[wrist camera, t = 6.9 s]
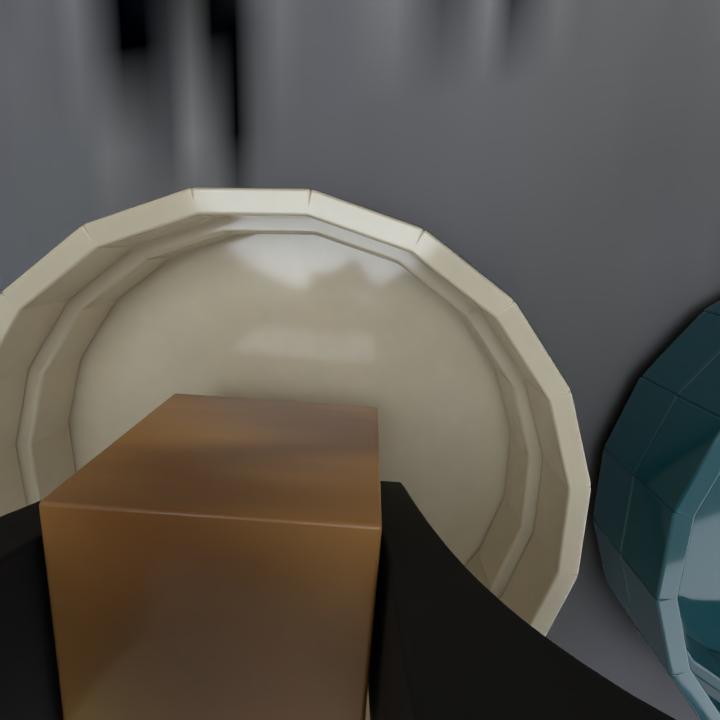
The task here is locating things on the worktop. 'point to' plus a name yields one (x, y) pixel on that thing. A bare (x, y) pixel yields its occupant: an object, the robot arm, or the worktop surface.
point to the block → (219, 564)
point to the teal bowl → (670, 510)
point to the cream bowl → (304, 363)
